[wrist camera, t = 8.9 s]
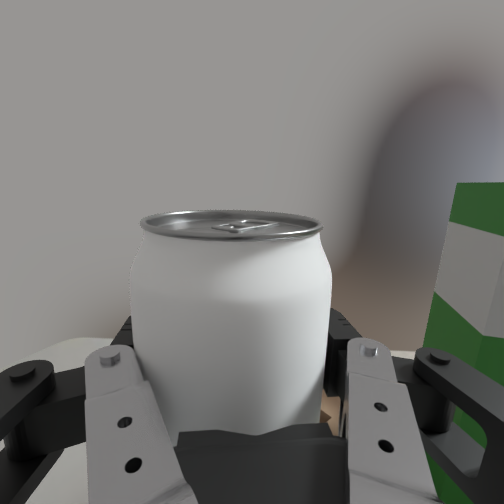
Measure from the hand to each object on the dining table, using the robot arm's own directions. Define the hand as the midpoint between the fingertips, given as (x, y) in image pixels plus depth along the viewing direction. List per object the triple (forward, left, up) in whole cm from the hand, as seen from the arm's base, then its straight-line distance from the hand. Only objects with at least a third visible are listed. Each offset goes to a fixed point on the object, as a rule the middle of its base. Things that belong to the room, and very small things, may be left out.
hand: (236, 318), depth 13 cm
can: (+2, +2, -7) cm, 8 cm away
